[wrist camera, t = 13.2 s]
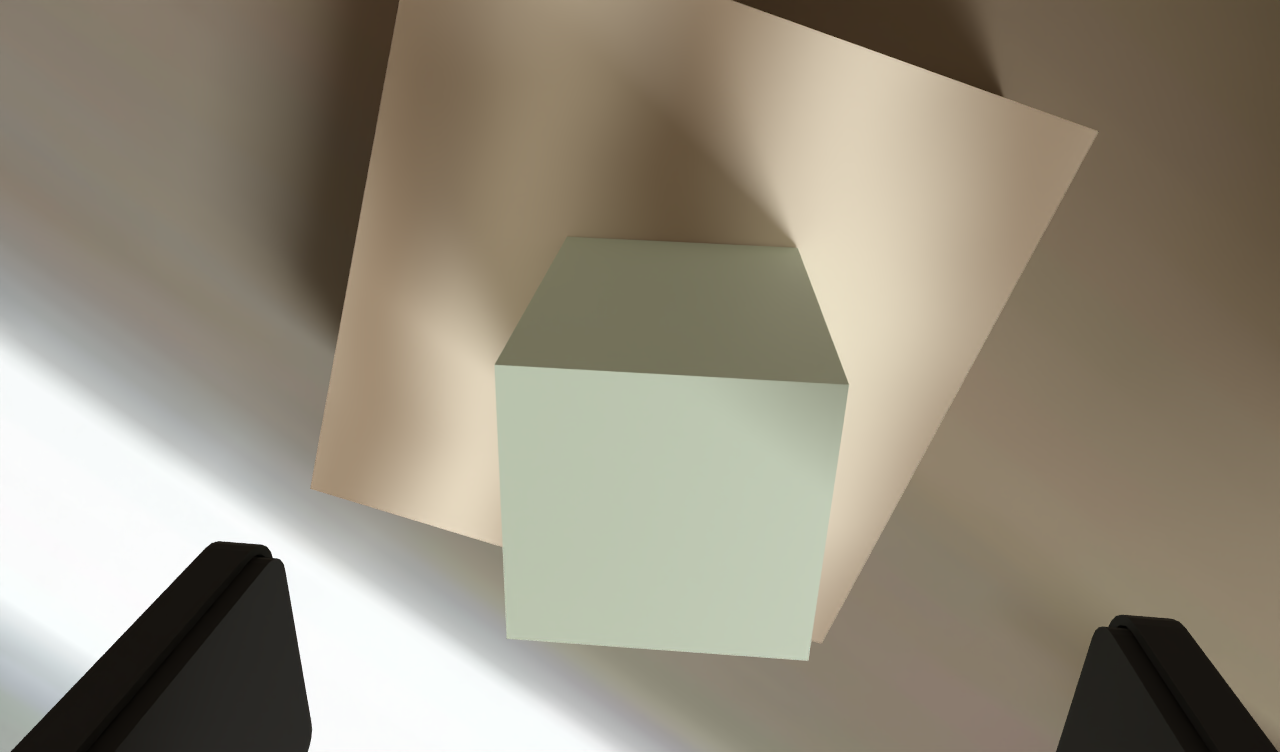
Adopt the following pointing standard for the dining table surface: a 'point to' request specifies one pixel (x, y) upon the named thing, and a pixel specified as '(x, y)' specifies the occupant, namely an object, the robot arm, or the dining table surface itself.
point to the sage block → (668, 449)
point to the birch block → (671, 226)
